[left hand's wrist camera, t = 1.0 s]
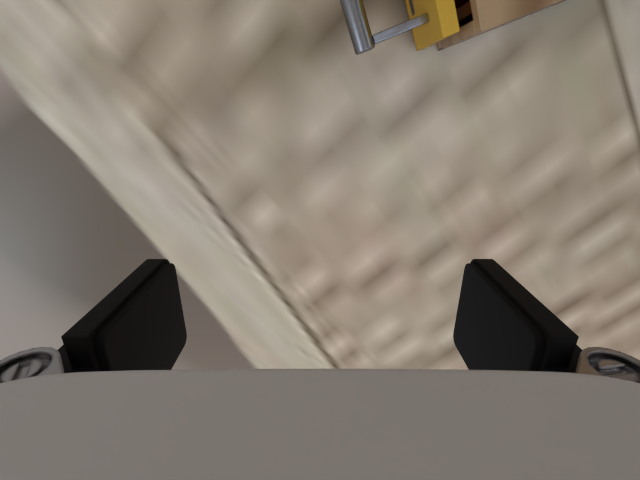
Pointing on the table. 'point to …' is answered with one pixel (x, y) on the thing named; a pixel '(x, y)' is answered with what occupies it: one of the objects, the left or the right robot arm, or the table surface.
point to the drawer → (408, 22)
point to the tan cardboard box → (493, 17)
